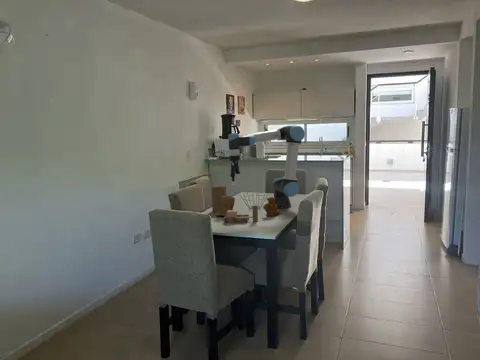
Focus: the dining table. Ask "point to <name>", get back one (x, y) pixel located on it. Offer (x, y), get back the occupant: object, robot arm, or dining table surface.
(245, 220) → the walnut lane
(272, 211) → the stuffed squirrel
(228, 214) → the corded block
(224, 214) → the brown boot
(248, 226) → the dining table surface
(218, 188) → the wooden block
